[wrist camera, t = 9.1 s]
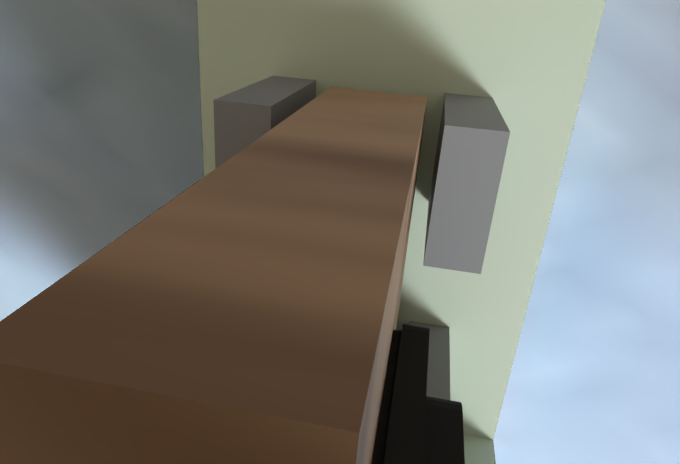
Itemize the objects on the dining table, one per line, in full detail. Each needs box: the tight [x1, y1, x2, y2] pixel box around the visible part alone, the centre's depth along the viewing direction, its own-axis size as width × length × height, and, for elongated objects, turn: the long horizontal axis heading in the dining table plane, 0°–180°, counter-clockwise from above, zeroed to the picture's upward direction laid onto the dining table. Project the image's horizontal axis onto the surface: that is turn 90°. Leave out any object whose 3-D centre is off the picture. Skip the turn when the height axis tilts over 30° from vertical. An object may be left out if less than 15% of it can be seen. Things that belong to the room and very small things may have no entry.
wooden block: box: [0, 87, 428, 464], centre depth 10 cm, size 10×3×11 cm, turn 176°
